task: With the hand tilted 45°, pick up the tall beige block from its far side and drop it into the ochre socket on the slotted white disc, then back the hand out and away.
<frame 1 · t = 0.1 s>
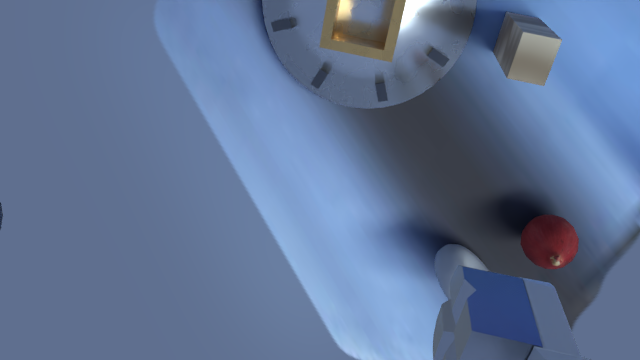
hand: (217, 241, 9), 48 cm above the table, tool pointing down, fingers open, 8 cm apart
tall beige block: (515, 35, 52), on the table
onion: (541, 222, 62), on the table
donut: (464, 256, 65), on the table
slotted white disc: (367, 5, 53), on the table
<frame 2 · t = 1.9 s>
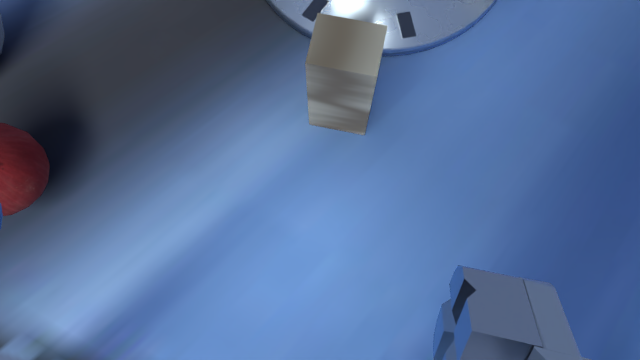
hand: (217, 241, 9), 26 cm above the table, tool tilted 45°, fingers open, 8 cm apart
tall beige block: (341, 109, 38), on the table
onion: (29, 186, 37), on the table
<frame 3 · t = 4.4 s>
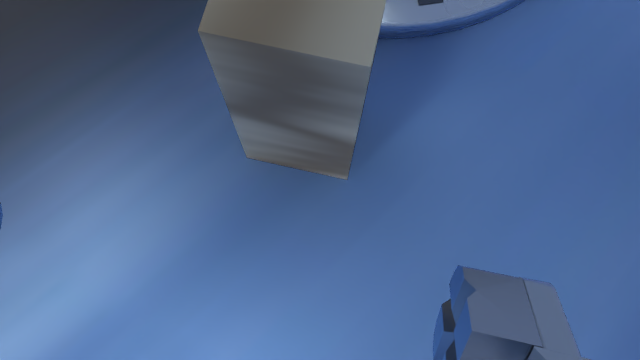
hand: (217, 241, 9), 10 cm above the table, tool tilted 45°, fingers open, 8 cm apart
tall beige block: (306, 131, 21), on the table
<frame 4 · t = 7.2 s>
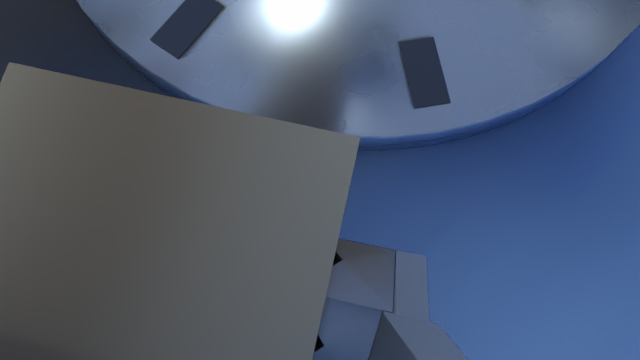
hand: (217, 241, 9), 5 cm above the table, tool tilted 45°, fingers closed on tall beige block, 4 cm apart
tall beige block: (245, 297, 14), on the table, touching gripper
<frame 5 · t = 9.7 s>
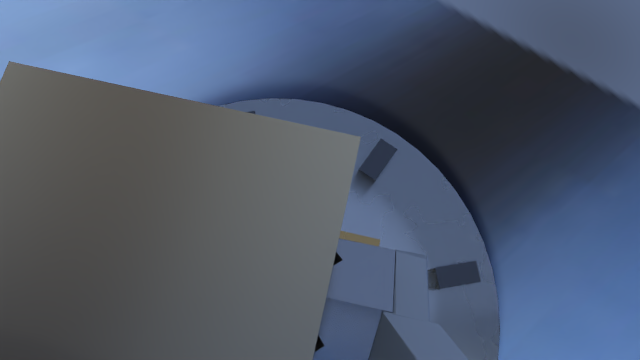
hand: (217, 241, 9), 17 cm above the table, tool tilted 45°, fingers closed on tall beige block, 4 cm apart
tall beige block: (245, 297, 14), point 12 cm above the table, touching gripper
slotted white disc: (274, 307, 26), on the table
when the fingers open (8 cm above the table, at t = 12.7 s): tall beige block drops 1 cm, resting on slotted white disc.
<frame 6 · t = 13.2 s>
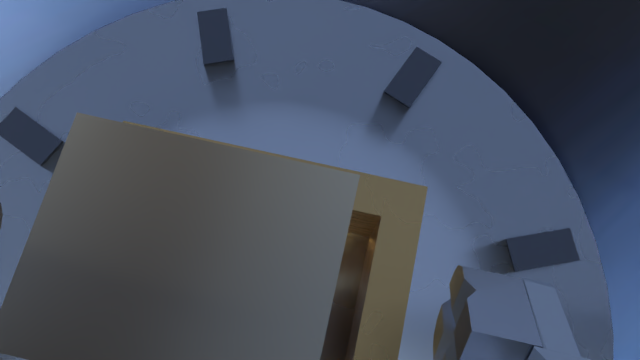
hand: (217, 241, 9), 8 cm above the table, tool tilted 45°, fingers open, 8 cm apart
tall beige block: (256, 301, 15), point 1 cm above the table, touching slotted white disc
slotted white disc: (255, 303, 17), on the table
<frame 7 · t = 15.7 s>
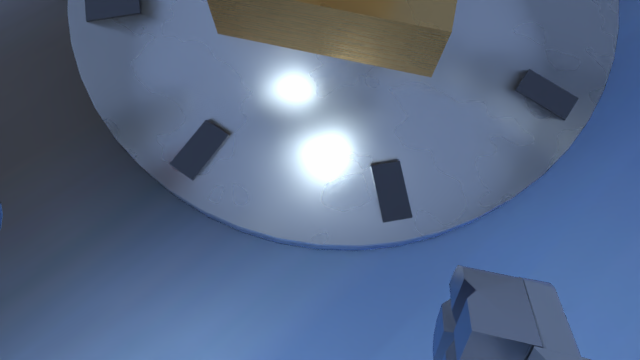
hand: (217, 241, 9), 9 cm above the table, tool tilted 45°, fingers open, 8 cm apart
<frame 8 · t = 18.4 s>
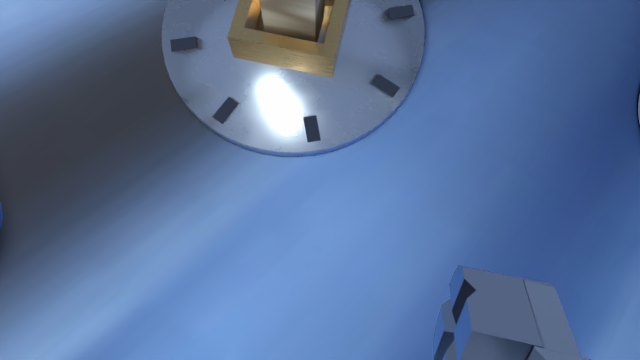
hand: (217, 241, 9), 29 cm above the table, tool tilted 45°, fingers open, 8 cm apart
tall beige block: (295, 28, 42), point 1 cm above the table, touching slotted white disc
slotted white disc: (294, 36, 43), on the table
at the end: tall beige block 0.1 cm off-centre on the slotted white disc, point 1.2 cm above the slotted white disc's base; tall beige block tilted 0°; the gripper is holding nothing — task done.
